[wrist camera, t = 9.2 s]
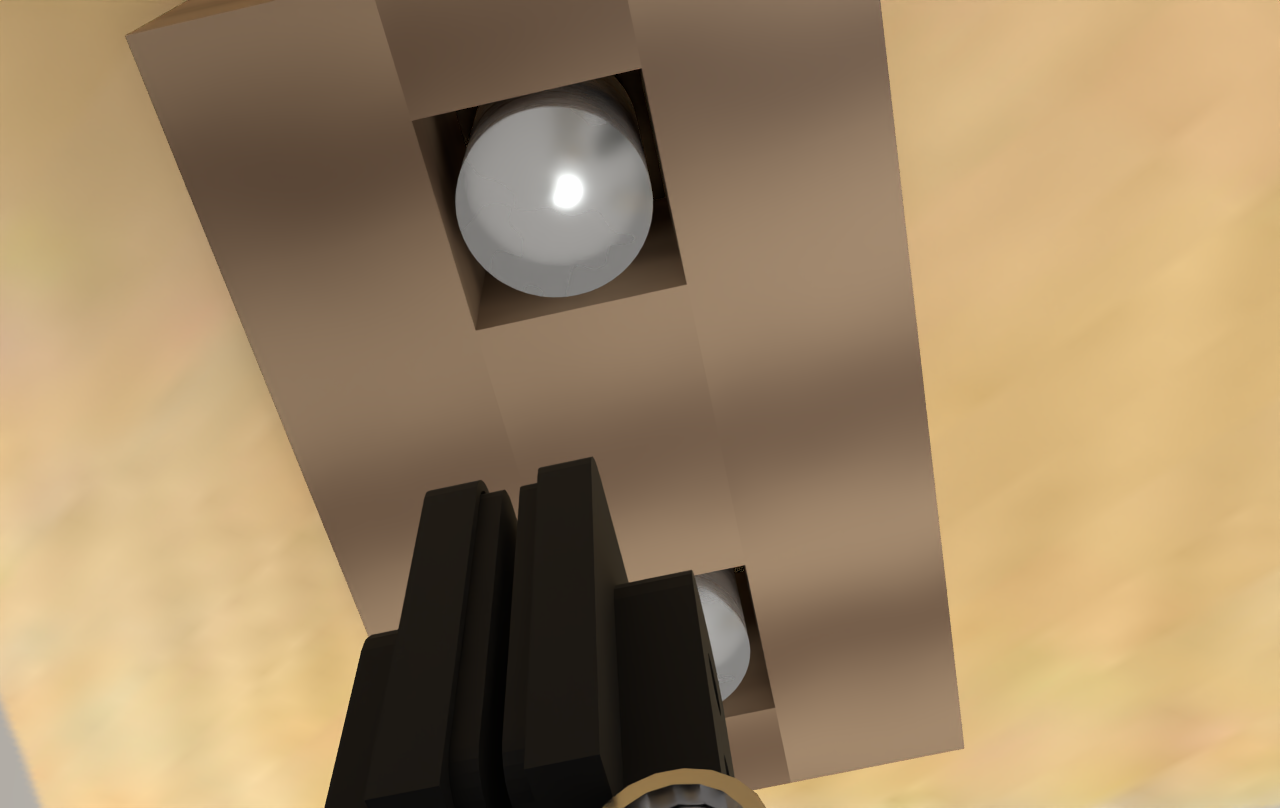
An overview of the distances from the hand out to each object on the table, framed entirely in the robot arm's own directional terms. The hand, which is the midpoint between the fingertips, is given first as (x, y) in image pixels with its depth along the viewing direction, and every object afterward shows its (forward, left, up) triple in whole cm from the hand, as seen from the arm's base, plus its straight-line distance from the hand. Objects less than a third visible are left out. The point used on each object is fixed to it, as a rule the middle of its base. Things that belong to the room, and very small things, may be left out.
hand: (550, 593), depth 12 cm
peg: (0, 0, -20) cm, 20 cm away
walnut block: (+6, 0, -20) cm, 21 cm away
